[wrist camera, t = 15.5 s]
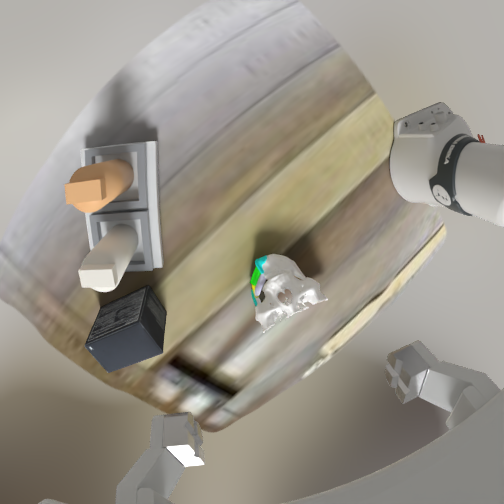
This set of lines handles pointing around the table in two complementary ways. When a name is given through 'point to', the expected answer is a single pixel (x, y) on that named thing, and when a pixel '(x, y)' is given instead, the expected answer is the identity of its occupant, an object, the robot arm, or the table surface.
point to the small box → (128, 330)
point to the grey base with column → (124, 219)
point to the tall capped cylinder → (98, 184)
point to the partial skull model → (281, 288)
